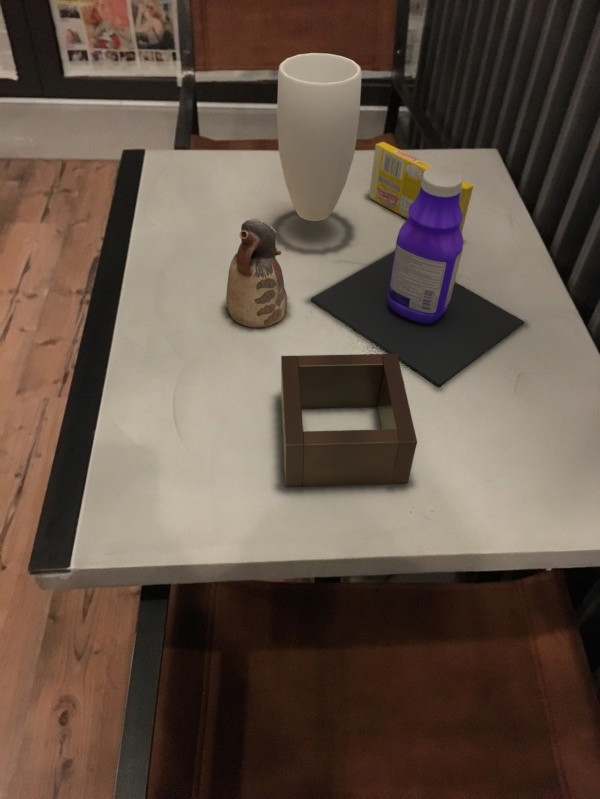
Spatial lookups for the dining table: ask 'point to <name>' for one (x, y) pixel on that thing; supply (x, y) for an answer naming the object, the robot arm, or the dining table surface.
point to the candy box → (403, 180)
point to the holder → (347, 449)
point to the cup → (317, 128)
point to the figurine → (256, 278)
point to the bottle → (428, 249)
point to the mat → (412, 341)
